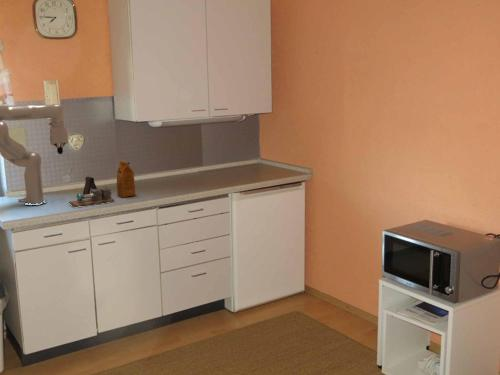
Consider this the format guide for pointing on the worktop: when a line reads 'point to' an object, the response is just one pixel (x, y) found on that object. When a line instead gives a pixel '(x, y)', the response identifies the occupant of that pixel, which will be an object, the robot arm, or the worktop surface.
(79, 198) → the shaft
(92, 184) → the phone stand
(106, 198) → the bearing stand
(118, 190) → the coffee package
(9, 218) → the worktop surface
